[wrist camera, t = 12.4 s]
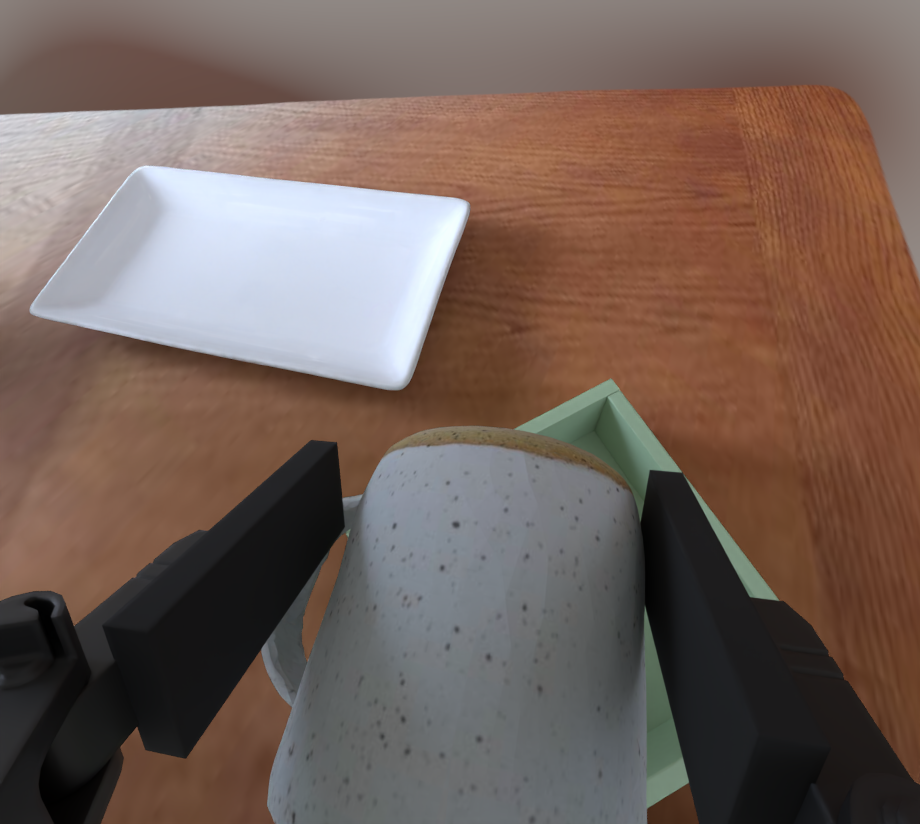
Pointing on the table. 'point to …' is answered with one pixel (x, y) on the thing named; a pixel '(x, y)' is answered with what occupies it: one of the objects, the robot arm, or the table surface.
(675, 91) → the table surface
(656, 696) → the bin
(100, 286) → the tray
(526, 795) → the ceramic mug
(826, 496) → the table surface
